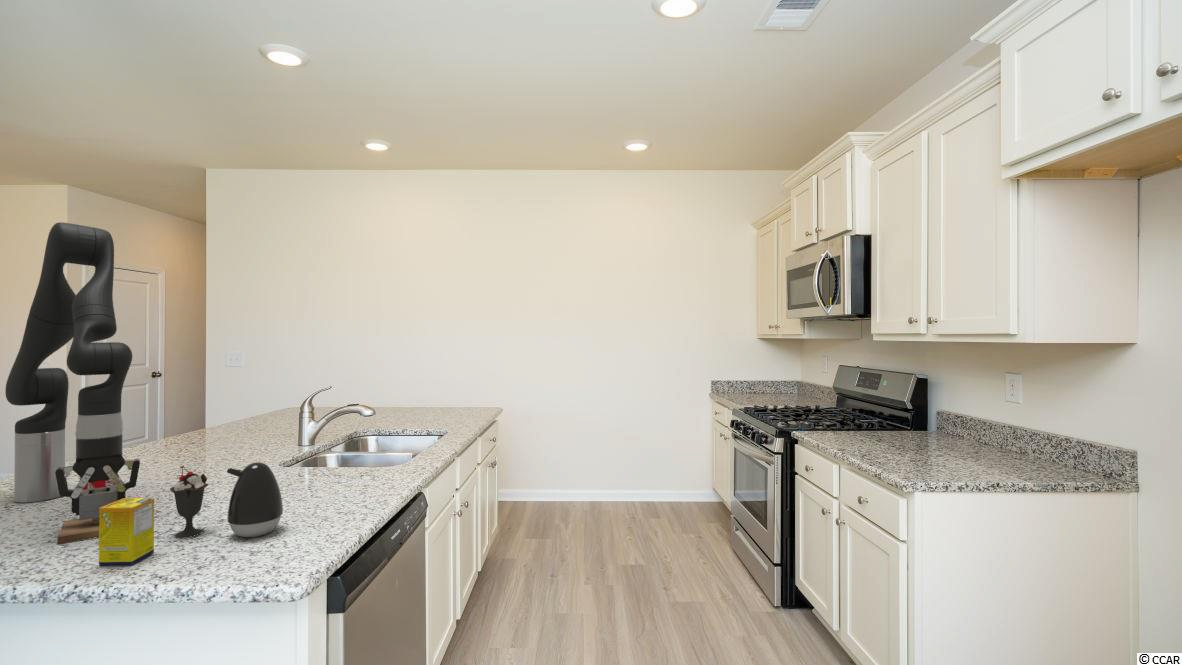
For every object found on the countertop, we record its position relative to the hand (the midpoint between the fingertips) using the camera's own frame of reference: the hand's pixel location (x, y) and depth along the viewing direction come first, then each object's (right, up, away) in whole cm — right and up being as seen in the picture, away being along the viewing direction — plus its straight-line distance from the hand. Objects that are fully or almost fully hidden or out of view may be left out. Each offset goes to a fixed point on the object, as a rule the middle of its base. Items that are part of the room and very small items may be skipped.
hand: (99, 511), depth 119 cm
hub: (0, -1, 0) cm, 1 cm away
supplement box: (+19, -4, -15) cm, 25 cm away
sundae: (+21, -4, -2) cm, 22 cm away
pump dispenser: (+35, -5, -1) cm, 35 cm away
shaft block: (0, -4, 0) cm, 4 cm away
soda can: (-15, -4, +16) cm, 22 cm away
